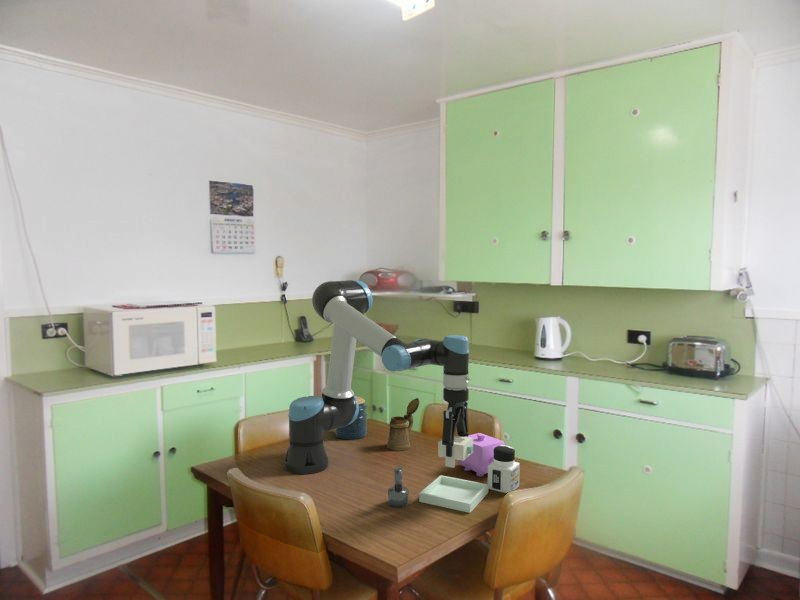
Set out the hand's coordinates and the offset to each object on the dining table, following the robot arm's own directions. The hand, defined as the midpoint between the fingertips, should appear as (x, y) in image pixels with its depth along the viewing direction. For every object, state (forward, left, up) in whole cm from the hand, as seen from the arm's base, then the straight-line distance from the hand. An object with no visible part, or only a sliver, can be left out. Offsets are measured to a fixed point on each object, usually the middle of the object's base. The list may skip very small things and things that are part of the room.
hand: (455, 461), depth 173 cm
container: (+11, +14, -11) cm, 21 cm away
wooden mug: (-35, +35, -11) cm, 51 cm away
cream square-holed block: (0, 0, +2) cm, 2 cm away
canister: (-60, +37, -11) cm, 72 cm away
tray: (0, 0, -11) cm, 11 cm away
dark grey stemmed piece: (-13, -12, -11) cm, 21 cm away
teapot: (+1, +24, -11) cm, 27 cm away
